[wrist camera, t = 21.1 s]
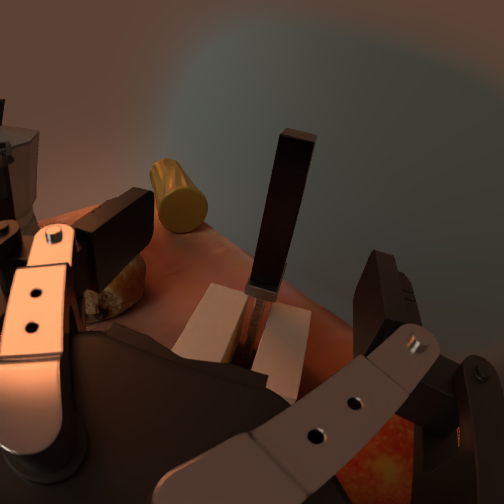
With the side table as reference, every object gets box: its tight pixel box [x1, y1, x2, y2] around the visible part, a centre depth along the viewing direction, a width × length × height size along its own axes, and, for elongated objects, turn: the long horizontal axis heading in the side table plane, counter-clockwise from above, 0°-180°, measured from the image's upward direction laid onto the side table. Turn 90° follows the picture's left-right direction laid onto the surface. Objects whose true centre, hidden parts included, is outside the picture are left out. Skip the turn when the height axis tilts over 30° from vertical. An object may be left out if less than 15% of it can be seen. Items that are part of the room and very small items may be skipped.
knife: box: [240, 128, 317, 368], centre depth 21 cm, size 4×2×18 cm, turn 166°
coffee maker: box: [0, 99, 39, 236], centre depth 22 cm, size 15×9×18 cm, turn 45°
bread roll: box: [84, 253, 146, 323], centre depth 28 cm, size 10×10×8 cm
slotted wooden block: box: [172, 283, 312, 405], centre depth 22 cm, size 8×8×5 cm
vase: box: [150, 159, 208, 233], centre depth 44 cm, size 6×6×14 cm
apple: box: [335, 414, 414, 504], centre depth 15 cm, size 8×8×8 cm
